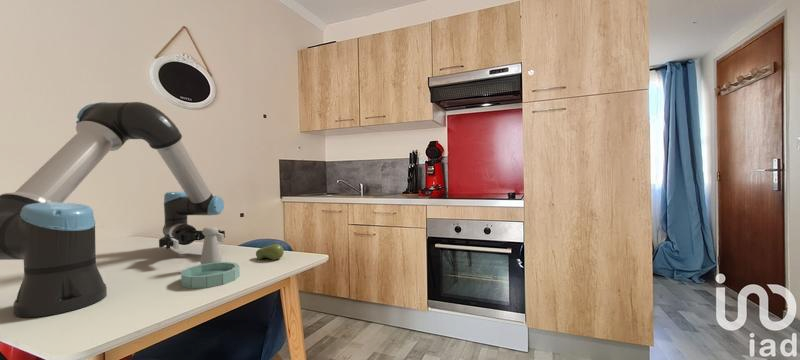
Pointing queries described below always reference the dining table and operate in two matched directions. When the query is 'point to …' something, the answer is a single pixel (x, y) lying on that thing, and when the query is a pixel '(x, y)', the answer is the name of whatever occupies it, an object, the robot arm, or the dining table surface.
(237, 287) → the dining table surface
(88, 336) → the dining table surface
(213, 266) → the dish
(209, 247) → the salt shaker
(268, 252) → the pear
